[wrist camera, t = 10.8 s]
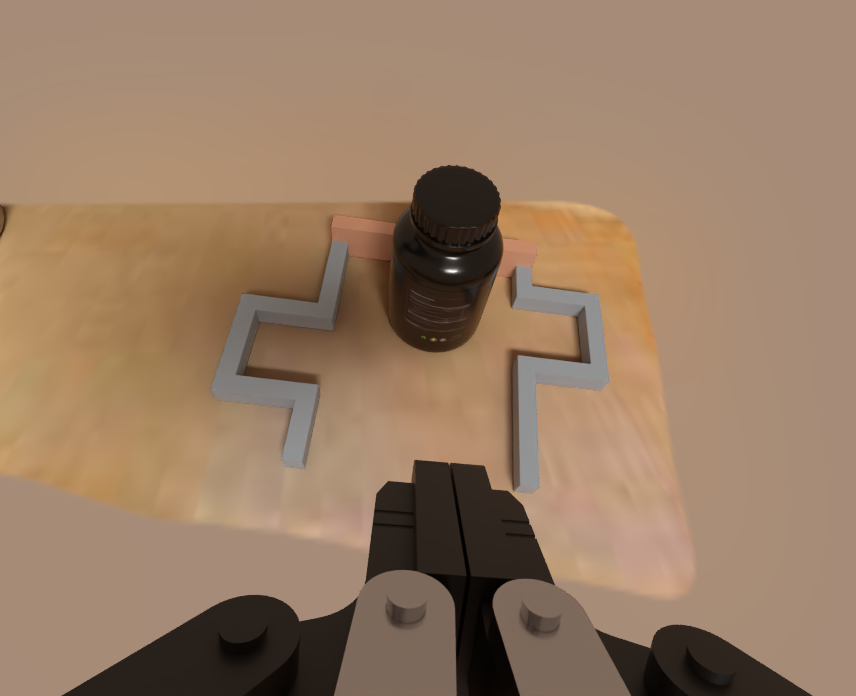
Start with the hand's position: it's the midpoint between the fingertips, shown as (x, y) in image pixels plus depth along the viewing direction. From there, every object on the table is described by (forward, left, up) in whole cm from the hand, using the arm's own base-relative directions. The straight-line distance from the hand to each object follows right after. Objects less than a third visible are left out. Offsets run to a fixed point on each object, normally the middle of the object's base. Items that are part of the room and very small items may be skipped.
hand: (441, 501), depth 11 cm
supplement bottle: (+1, +18, -20) cm, 27 cm away
